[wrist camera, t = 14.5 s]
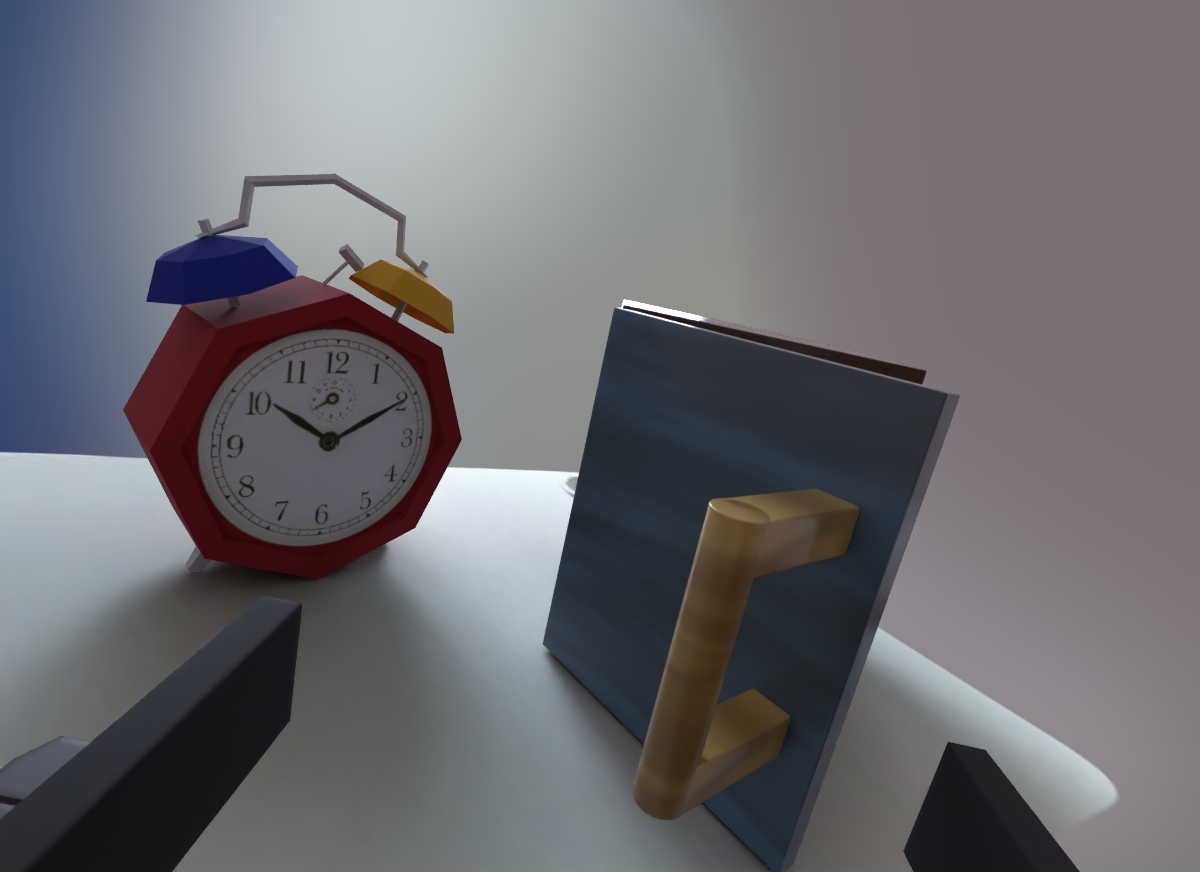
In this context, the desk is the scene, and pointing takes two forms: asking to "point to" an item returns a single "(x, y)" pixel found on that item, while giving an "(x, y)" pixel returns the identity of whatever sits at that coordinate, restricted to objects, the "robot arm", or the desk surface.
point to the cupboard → (788, 343)
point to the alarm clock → (293, 399)
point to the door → (736, 561)
